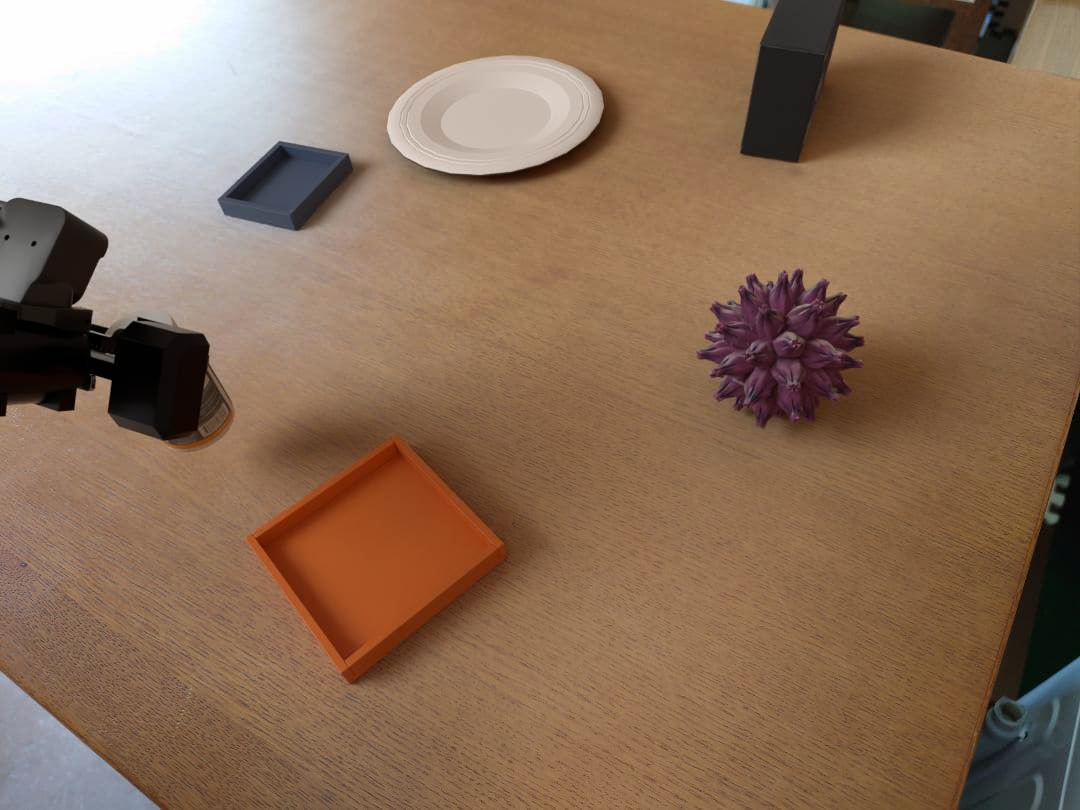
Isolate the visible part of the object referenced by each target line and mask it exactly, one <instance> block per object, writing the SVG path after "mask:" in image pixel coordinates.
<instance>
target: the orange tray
mask: <svg viewBox="0 0 1080 810" xmlns="http://www.w3.org/2000/svg"><path fill="white" fill-rule="evenodd" d="M244 540H245V541H246V543H247V544H248V545H249V547H250V549H251V550H252V551H253V552H254V554H255V555H256V557H257V558H258V559H259V561H260V562H261V564H262V566H263V567H264V568H265V569H266V571H267V572H268V573H269V576H271V578H272V579H273V581H274V583H276V585H277V586H278V587H279V589H280V591H281V592H282V594H283V595H284V596H285V597H286V599H287V600H288V601H289V603H290V605H291V606H292V607H293V609H294V610H295V611H296V613H297V615H298V616H299V617H300V618H301V620H302V621H303V623H304V624H305V625H306V627H307V628H308V629H309V631H310V632H311V634H312V635H313V637H314V638H315V640H316V641H317V643H318V644H319V645H320V647H321V648H322V649H323V651H324V652H325V654H326V655H327V656H328V658H329V660H330V661H331V662H332V663H333V665H334V667H336V669H337V670H338V672H339V673H340V675H341V676H342V677H343V678H344V680H345V681H346V682H347V684H349V685H351V684H352V683H354V682H355V681H356V680H357V679H358V678H360V677H362V675H364V674H365V673H366V672H367V671H368V670H370V669H371V668H372V667H373V666H375V665H376V664H377V663H378V662H380V661H381V660H382V659H383V658H385V657H386V656H387V655H388V654H390V653H391V652H393V650H394V649H396V648H397V647H398V646H399V645H401V644H402V643H403V642H404V641H405V640H407V639H408V638H410V637H411V636H412V635H413V634H415V633H416V631H418V630H419V629H420V628H422V627H423V626H424V625H425V624H426V623H428V622H429V621H430V620H431V619H433V618H434V617H435V616H436V615H438V614H439V613H440V612H442V610H444V609H445V608H446V607H448V606H449V605H450V604H451V603H453V602H454V601H455V600H456V599H457V598H459V597H460V596H461V595H462V594H464V593H465V592H466V591H468V589H470V588H471V587H473V586H474V585H475V584H476V583H478V581H480V580H481V579H482V578H483V577H485V576H486V575H487V574H488V573H490V572H491V571H492V570H493V569H495V568H496V567H497V566H499V565H500V564H501V563H502V562H503V561H504V560H507V558H508V555H507V551H506V547H505V543H504V542H503V541H502V540H501V539H500V538H499V536H497V535H496V533H495V532H493V531H492V529H490V528H489V526H488V525H487V524H486V523H485V522H484V521H483V520H482V519H481V518H480V517H479V516H478V515H477V514H476V513H475V512H474V511H473V510H472V509H471V508H470V507H469V506H468V505H467V504H466V503H465V502H464V501H463V499H461V498H460V497H459V496H458V495H457V493H455V492H454V491H453V489H451V488H450V487H449V486H448V484H447V483H446V482H444V480H443V479H442V478H440V476H439V475H438V474H437V473H436V472H435V471H434V470H433V469H432V468H431V467H430V466H429V465H428V464H427V463H426V462H425V461H424V460H423V459H422V458H421V457H420V455H418V454H417V453H416V452H415V451H414V449H412V448H411V447H410V446H409V444H408V443H406V442H405V441H404V439H403V438H401V436H400V435H399V434H398V433H395V434H394V435H392V436H391V437H390V438H388V439H386V441H384V442H383V443H381V444H379V445H378V446H377V447H375V448H374V449H372V450H370V452H368V453H366V454H365V455H364V456H362V457H361V458H359V459H358V460H356V461H355V462H354V463H352V464H351V465H349V466H348V467H346V468H345V469H343V470H342V471H340V472H338V473H337V474H336V475H334V476H333V477H331V478H330V479H328V480H327V481H326V482H324V483H323V484H322V485H320V486H318V487H317V488H316V489H314V490H313V491H311V492H310V493H308V494H307V495H306V496H304V497H302V498H301V499H300V500H298V501H297V502H294V504H292V505H291V506H289V507H288V508H286V509H285V510H284V511H282V512H281V513H279V514H278V515H277V516H275V517H274V518H272V519H270V520H269V521H268V522H266V523H265V524H263V525H262V526H261V527H258V529H255V530H254V531H253V532H252V533H250V534H248V535H247V536H245V537H244Z"/></svg>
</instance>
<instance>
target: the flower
mask: <svg viewBox="0 0 1080 810" xmlns="http://www.w3.org/2000/svg"><path fill="white" fill-rule="evenodd" d="M803 278H804V268H802V269H801V268H796V269H794V270H793V272H792V275H791V276H790V278H789V273H788V272H787V270H786V269H784V270H782V271H781V272H778V275H777V282H775V284H774V281H773V280H771V279H768V280H765V281H764V283H763V282H761V281H760V279H759V278H758V277H757V275H756V273H755V272H752V273H749V274H746V276H744V279H745V281H746V286H745V285H743V284H740V285H739V286H738V289H737V292H738V294H739V296H740V300H739V301H740V302H737V301H735V300H734V299H730V300H729V299H728V300H727V301H726V303H721V302H719V301H717V300H713V301H712V303H711V304H710V306H709V307H708V310H709V311H710V312H711V313H713V314H714V315H715V318H716V319H717V320H718V322H717V323H716V325H715V326H714V330H706V331H705V332H704V337H703V338H704V339H705V340H708V341H710V342H712V344H711V345H708V346H707V347H705V348H700V349H697V350H696V354H697V355H696V358H697V359H698V360H707V361H710V362H712V363H715V364H716V365H717V366H715V367H713V368H712V370H710V371H708V376H709V378H710V379H714V378H721V381H720V384H719V387H718V389H717V390H716V391H715V392H714V393H713V395H712V397H713V398H714V400H716V401H717V403H721V402H723V401H724V400H725V399H732V398H735V400H734V403H733V404H732V408H733V411H737V413H738V412H740V411H741V410H742V409H743V408H745V409H749V410H752V411H753V413H754V415H755V427H759V428H761V429H762V430H765V428H766V427H767V424H768V422H769V420H770V419H772V418H773V416H775V418H776V419H779V420H782V419H784V418H786V414H787V415H788V418H789V420H790V423H796V424H797V423H798V422H801V421H802V420H801V419H802V418H801V416H802V417H803V418H804V420H805V421H806V423H807V424H811V423H812V424H815V423H816V422H817V417H816V414H815V408H817V407H820V405H821V401H820V399H819V397H820V398H824V399H828V400H829V401H830V402H832V403H833V404H836V402H838V400H839V399H841V398H840V396H839V395H841V396H844V397H848V396H849V394H851V393H852V392H853V389H852V388H851V387H850V386H849V385H848V384H847V383H846V382H845V379H844V376H843V375H842V373H841V372H842V371H843V372H844V371H847V370H849V369H860V370H861V369H864V366H863V365H864V360H863V359H859V358H856V357H854V356H852V355H850V352H852V351H853V350H854V349H856V348H862V347H863V348H864V347H865V342H866V341H865V336H863V335H855V334H853V333H851V332H849V331H851V330H852V329H853V328H855V327H857V326H859V325H860V324H861V322H860V318H861V317H860V315H857V314H856V315H852V316H848V317H842V316H838V315H837V314H838V311H839V308H840V306H841V305H842V304H843V302H844V301H846V299H847V297H848V296H849V295H848V294H846V293H843V291H838V292H836V293H835V294H834V295H831V296H827V289H828V287H829V285H830V284H831V283H830V282H831V281H830V280H827V278H824V277H821V278H820V279H819V280H818V281H817V283H816V284H814V285H813V286H811V287H809V288H808V289H807V288H805V286H804V282H803V281H804V279H803Z"/></svg>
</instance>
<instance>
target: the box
mask: <svg viewBox="0 0 1080 810" xmlns="http://www.w3.org/2000/svg"><path fill="white" fill-rule="evenodd" d="M845 4H846V0H778V1H777V3H776V5H775V7H774V10H773V12H772V14H771V17H770V18H769V21H768V24H767V26H766V28H765V31H764V33H763V34H762V36H761V37H762V38H761V40H760V42H759V44H758V49H757V55H756V64H755V68H754V73H753V80H752V85H751V89H750V95H749V102H748V108H747V113H746V118H745V122H744V129H743V133H742V138H741V141H740V148H739V154H742V155H746V156H747V155H748V156H755V157H762V158H767V159H774V160H781V161H785V162H791V163H798V162H799V160H800V158H801V155H802V151H803V148H804V145H805V143H806V139H807V135H808V132H809V130H810V126H811V124H812V120H813V117H814V114H815V112H816V108H817V106H818V103H819V99H820V96H821V93H822V89H823V87H824V84H825V80H826V77H827V73H828V69H829V66H830V62H831V59H832V55H833V51H834V47H835V44H836V39H837V37H838V36H837V35H838V32H839V27H840V24H841V20H842V16H843V12H844V8H845Z"/></svg>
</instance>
